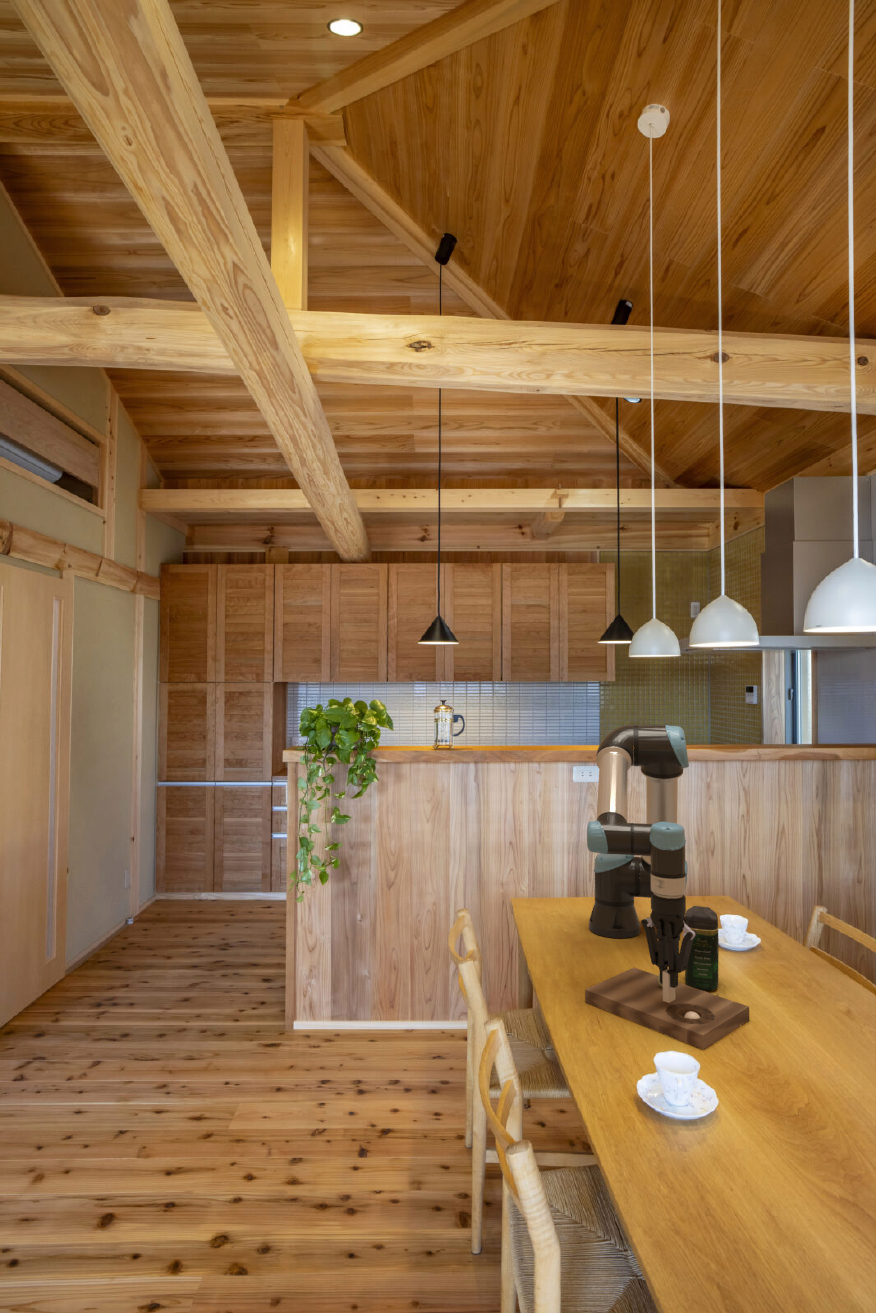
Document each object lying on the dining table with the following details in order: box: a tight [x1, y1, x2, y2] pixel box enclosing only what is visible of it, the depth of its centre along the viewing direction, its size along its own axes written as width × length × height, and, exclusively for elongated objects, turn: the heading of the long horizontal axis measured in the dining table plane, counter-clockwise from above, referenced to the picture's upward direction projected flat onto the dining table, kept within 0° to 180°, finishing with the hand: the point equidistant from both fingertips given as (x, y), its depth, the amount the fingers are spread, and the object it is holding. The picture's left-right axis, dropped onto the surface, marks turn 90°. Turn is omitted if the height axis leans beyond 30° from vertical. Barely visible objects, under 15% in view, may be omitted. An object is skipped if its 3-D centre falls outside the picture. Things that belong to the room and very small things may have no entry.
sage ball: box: [657, 973, 663, 987], centre depth 177 cm, size 4×4×4 cm
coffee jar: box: [684, 905, 720, 992], centre depth 187 cm, size 10×8×19 cm
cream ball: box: [684, 1011, 700, 1019], centre depth 163 cm, size 4×4×4 cm
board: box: [584, 967, 750, 1051], centre depth 172 cm, size 30×20×3 cm, turn 41°
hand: (669, 999), depth 168 cm, fingers closed
